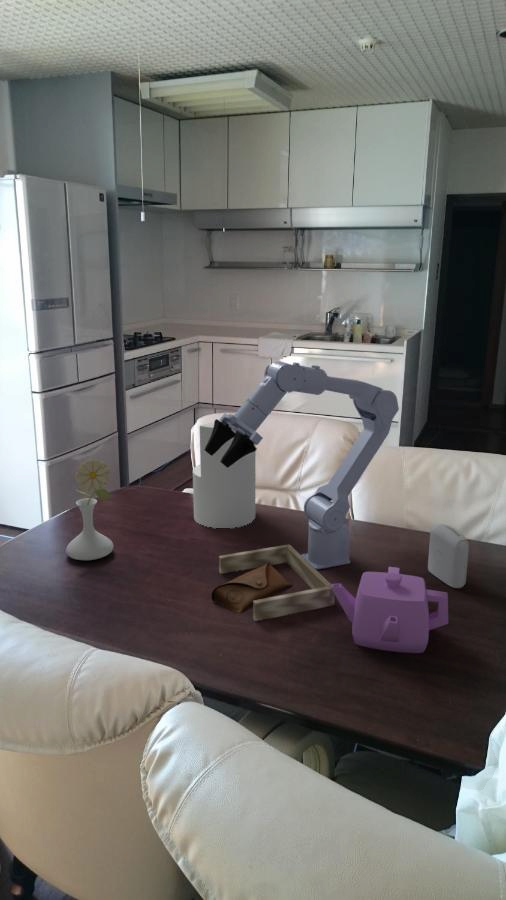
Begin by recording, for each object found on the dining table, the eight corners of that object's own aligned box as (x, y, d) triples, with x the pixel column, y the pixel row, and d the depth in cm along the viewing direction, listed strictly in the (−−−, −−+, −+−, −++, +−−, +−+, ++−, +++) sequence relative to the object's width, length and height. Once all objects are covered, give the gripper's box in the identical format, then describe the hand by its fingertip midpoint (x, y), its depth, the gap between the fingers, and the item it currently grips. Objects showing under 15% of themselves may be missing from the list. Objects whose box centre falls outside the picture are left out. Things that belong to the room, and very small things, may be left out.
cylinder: (268, 516, 182) (268, 419, 174) (223, 534, 170) (222, 431, 162) (225, 501, 193) (224, 410, 185) (181, 517, 181) (178, 420, 173)
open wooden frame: (289, 559, 155) (289, 544, 154) (334, 605, 135) (334, 587, 133) (219, 571, 149) (219, 555, 148) (255, 621, 128) (255, 603, 127)
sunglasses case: (239, 614, 131) (227, 583, 131) (219, 619, 136) (207, 589, 136) (295, 583, 143) (284, 555, 144) (274, 589, 148) (264, 562, 149)
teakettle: (453, 641, 122) (459, 582, 118) (388, 670, 113) (392, 608, 110) (389, 603, 136) (393, 549, 132) (326, 626, 127) (328, 569, 123)
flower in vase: (56, 560, 155) (47, 461, 148) (85, 541, 165) (77, 448, 158) (102, 569, 150) (94, 467, 143) (128, 550, 160) (123, 454, 153)
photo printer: (424, 570, 150) (428, 520, 146) (440, 567, 151) (444, 518, 148) (451, 590, 141) (457, 538, 137) (468, 587, 142) (473, 535, 139)
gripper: (228, 389, 140) (189, 437, 139) (262, 407, 128) (219, 460, 127) (248, 408, 144) (210, 455, 143) (282, 427, 132) (241, 478, 131)
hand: (215, 458), depth 135 cm, fingers open, 7 cm apart
